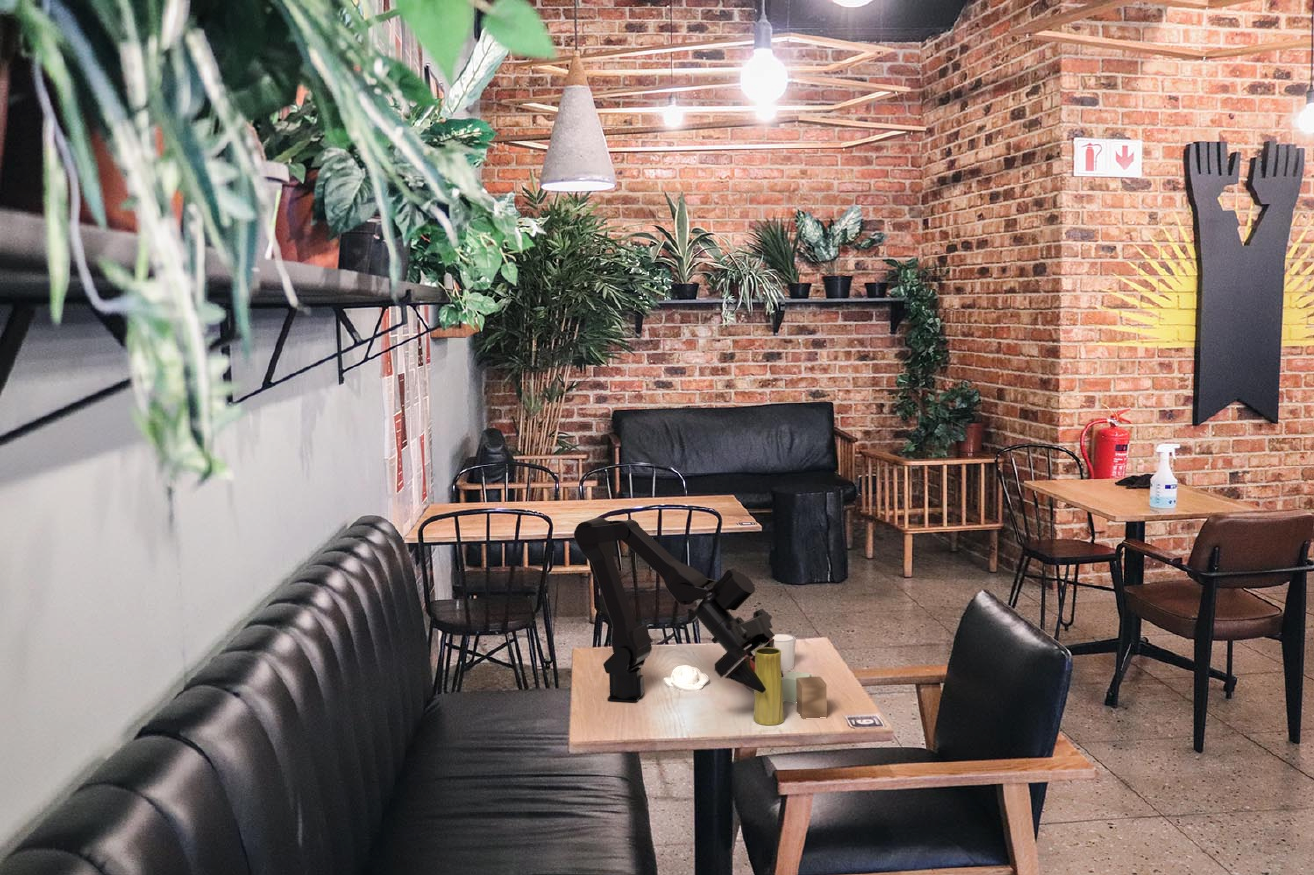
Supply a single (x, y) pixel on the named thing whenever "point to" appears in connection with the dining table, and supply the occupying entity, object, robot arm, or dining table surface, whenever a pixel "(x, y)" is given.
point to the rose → (686, 678)
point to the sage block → (791, 685)
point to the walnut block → (811, 697)
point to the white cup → (786, 650)
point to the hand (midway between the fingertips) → (773, 684)
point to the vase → (768, 687)
